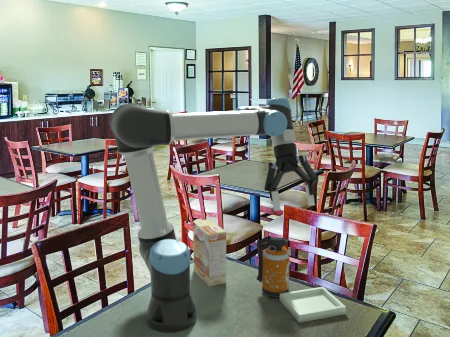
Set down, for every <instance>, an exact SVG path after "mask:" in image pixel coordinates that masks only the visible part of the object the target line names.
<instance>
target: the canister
mask: <svg viewBox="0 0 450 337" xmlns="http://www.w3.org/2000/svg"><path fill="white" fill-rule="evenodd" d="M288 244H289V239H287V238H286V237H284V236H282V237H278V236H271V235H267V236H265V237H263V238H261V239H260V240H257V243H256V247H257V249H258V253H257V257H258V258H257V259H258V266H257V268H258V270H257V271H258V273H257V276H256V280H257V281H258V282H260V283H261V284H262V285H261V286H262V287H261V292H262V293H263V294H264V295H265V296H267V297H272V298H280V293H287V292H290V290H289V288H290V286H289V285H290V261H291V260H290V256H289V250H288V248H287V246H288Z"/></svg>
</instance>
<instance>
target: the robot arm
mask: <svg viewBox="0 0 450 337" xmlns="http://www.w3.org/2000/svg"><path fill="white" fill-rule="evenodd" d="M292 117H293V116H292V109H291V104H290V101H289V99H288V98H287V97H274V98H271V99H269V100H268V101H267V102H266V105H254V106H253V105H250V106H249V105H248V106H247V105H245V106H238V107H236V109H235V110H229V111H227V110H226V111H206V112H205V111H204V112H203V111H202V112H186V113H185V112H183V113H182V112H181V113H171V112H170V111H169V110H166V109H165V110H163V109H162V110H159V109H150V108H147V107H143V106H142V105H140V104H138V103H133V102H129V103H124V104H122V105H120V106H117V107H116V108H115V110H113V112H112V114H111V116H110V119H109V120H110V121H109V126H110V130H111V132H112V133H113V135H114V136H113V137H114V140H115V143H116V148H117V152H118V154H120V155H122V156H123V157H124V161H125V164H126V169H127V173H128V176H129V177H128V178H129V181H130V182H129V183H130V186H131V187H130V188H131V190H132V193H133V194H132V195H133V199H134V203H135V208H136V212H137V218H138V220H139V225H140V229H139V230H138V232H137V238H138V242H139V245H138V246H139V253H140V256H141V258H142V259H143V262H144V264H145V266H146V267H147V269H148V270H147V271H148V272H149V274H150V291H151V292H150V294H151V296H150V299H149V303H148V306H147V309H146V312H145V318H146V320H145V322H146V324H147V326H148V327H150V328H151V329H153V330H155V331H157V332H164V333H174V332H179V331H184V330H185V329H189V327H191V326H192V325H194V323H195V322H196V320H197V309H196V306H195V303H194V301H193V297H192V295H191V269H190V268H191V254H190V249H189V247H188V246H187V244H186V243H184V242H183V241H181V240H180V241H179V240H178V239H177V238H176V232H175V228H174V224H173V223H171V222H169V221H168V218H167V217H168V216H167V212H166V207H165V204H164V199H163V194H162V189H161V184H160V179H159V175H158V171H157V165H156V160H155V157H154V153H153V151H154V149H155V147H158V146H167V145H171V144H172V143H173V142H174V141H175V142H176V141H186V140H187V141H189V140H203V139H217V138H218V139H219V138H231V137H232V138H237V137H247V136H248V137H249V136H250V137H251V136H265V135H266V136H269V137H271V141H272V142H271V143H272V145H273V153H274V157H275V162H273V161H272V162H271V161H270V162H268V171H267V175H266V180H265V183H264V187H263V188H264V191H265V192H269V195H270V200H271V202H272V205H273V211H274V212H277V211H279V212H280V211H281V202H280V195H279V191H278V190H277V189H278V186H279V185H280V183H281V180H282V178H283V176H284V175H285V174H289V173H292V172H294V173H295V174H297V176H299V178H301V179H302V181H304V183H305V184H306V185H305V186H304V187H305V194H306V200H307V206H308V207H312V206H316V203H315V197H314V195H315V194H316V191H315V190H316V189H315V184H316V183H317V182H319V181H320V178H319V177H318V175H317V174H316V173H315V171H314V169H313V168H312V166H311V165H310V163H309V162H308V158H307V156H306V154H300V155H298V149H297V144H296V143H295V142H296V137H295V130H294V124H293V118H292ZM299 163H300V165H301V166H302V168H303V169H302V168H301V166H300V165H299Z"/></svg>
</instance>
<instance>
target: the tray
mask: <svg viewBox="0 0 450 337" xmlns="http://www.w3.org/2000/svg"><path fill="white" fill-rule="evenodd" d="M279 302H280V303H281V304H282V305H283V306H284V307H285V308H286V310H287V311H288V310H289V311H288V312H289V313H290V315H292V316H293V318H295V320H296V321H297V322H298V323H299V324H300V323H304V322H311V321H315V320H320V319H327V318H332V317H337V316H342V315H346V313H347V306H346V305H344V304H343V302H341V300H339V299H338V298H337V297H336V296H334V294H332V293H331V292H330V291H329V290H327V289H326V288H325V287H324V286H318V287H312V288H306V289H300V290H295V291H293V290H292V291H289V292H287V293H280V297H279Z"/></svg>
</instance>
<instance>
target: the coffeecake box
mask: <svg viewBox="0 0 450 337" xmlns="http://www.w3.org/2000/svg"><path fill="white" fill-rule="evenodd" d="M192 229H193V230H192V234H193V235H192V238H193V239H192V240H193V271H194V272H195V273H196V275H198V277H199V278H201V279H202V281H203V282H204V283H205V284H206V285H207V287H214V286H218V285H223V284H227V231H226V230H224V228H222V227H221V226H219V225H218V224H217V223H215V222H214V221H213V220H211V219H209V218H207V219H202V220H194V221H192Z"/></svg>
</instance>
